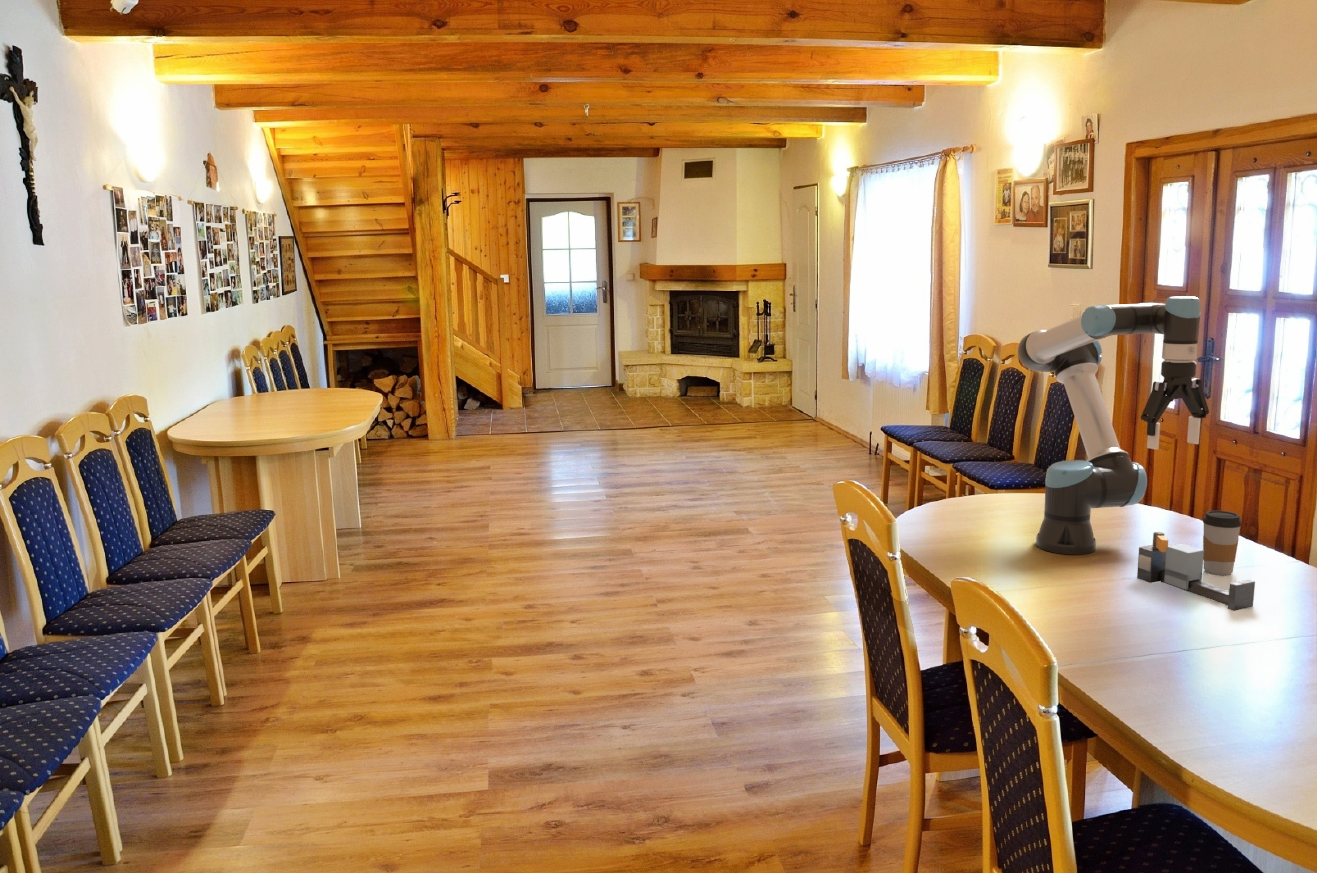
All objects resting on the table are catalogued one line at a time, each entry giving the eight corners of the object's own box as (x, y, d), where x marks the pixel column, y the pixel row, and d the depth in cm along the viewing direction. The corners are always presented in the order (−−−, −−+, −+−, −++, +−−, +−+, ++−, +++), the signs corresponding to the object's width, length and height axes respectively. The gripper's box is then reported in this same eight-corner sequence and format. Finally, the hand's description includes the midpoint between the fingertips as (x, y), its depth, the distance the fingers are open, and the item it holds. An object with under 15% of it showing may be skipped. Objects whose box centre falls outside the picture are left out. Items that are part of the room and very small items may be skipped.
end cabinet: (1136, 578, 243) (1138, 547, 241) (1160, 573, 246) (1163, 542, 244) (1150, 583, 239) (1152, 551, 238) (1174, 578, 242) (1176, 547, 241)
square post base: (1227, 608, 221) (1229, 583, 220) (1246, 604, 224) (1248, 579, 222) (1234, 611, 220) (1236, 585, 219) (1252, 606, 222) (1255, 581, 221)
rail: (1160, 582, 240) (1161, 572, 239) (1167, 580, 241) (1168, 570, 240) (1231, 606, 222) (1232, 596, 222) (1239, 605, 223) (1240, 594, 223)
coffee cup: (1242, 578, 241) (1247, 519, 238) (1205, 577, 242) (1209, 518, 240) (1230, 567, 249) (1235, 510, 246) (1194, 566, 250) (1198, 509, 248)
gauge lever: (1158, 551, 236) (1159, 539, 236) (1151, 544, 242) (1152, 531, 242) (1169, 552, 236) (1170, 539, 235) (1161, 544, 242) (1162, 532, 241)
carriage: (1164, 582, 237) (1166, 546, 236) (1179, 579, 239) (1182, 543, 237) (1185, 589, 232) (1188, 553, 230) (1201, 586, 234) (1204, 550, 232)
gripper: (1154, 365, 232) (1148, 453, 236) (1229, 358, 241) (1222, 443, 245) (1128, 362, 238) (1122, 448, 242) (1202, 355, 248) (1196, 438, 252)
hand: (1172, 446), depth 244 cm, fingers open, 13 cm apart
